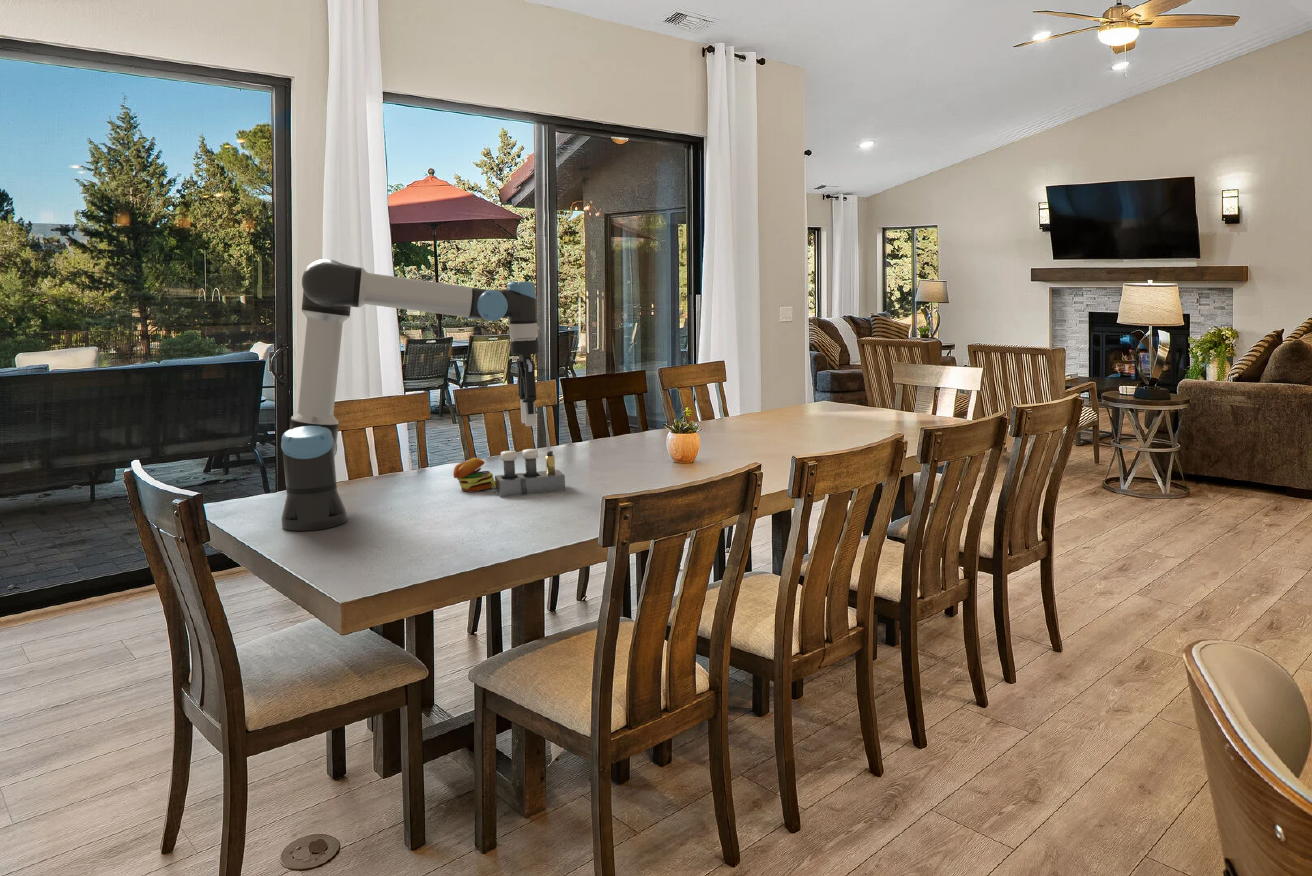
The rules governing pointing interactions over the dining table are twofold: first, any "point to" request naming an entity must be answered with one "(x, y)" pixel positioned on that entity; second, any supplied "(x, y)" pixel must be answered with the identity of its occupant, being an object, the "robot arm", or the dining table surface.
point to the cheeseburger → (473, 476)
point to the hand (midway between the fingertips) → (528, 424)
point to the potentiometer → (550, 463)
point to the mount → (529, 484)
